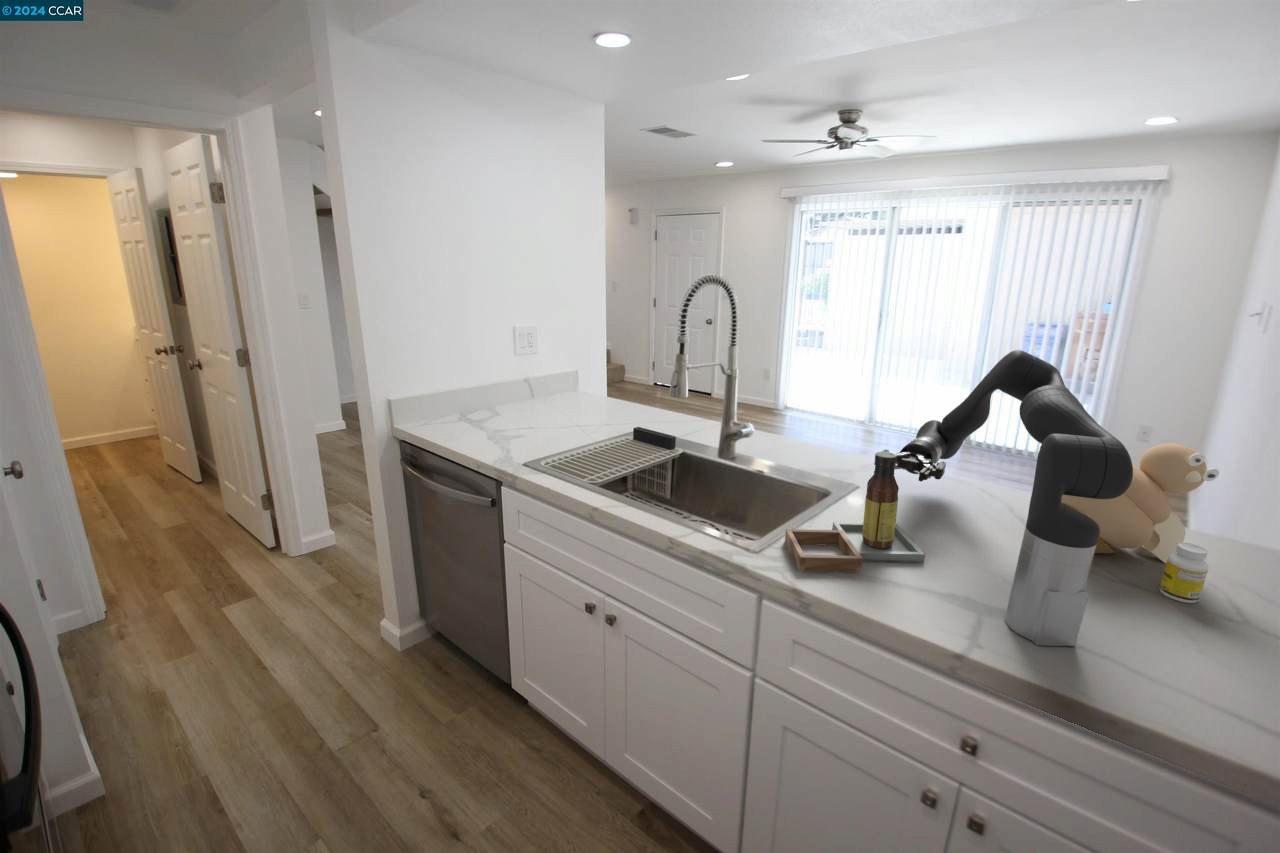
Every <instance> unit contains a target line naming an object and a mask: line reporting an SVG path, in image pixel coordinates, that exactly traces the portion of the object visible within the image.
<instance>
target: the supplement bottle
mask: <svg viewBox="0 0 1280 853" xmlns="http://www.w3.org/2000/svg"><path fill="white" fill-rule="evenodd" d="M1207 555H1208V550H1207V549H1206V548H1204V547H1203V546H1200V545H1197V544H1194V543H1190V542H1189V543H1188V542H1183V543H1178V545H1177V548H1176V553H1173V554H1171V555H1170V556H1169V557H1168V560H1167V563H1165V564H1166V565H1165V567H1164V571H1163V575H1162V578H1161V582H1160V584H1159V588H1158V589H1159V591H1160V593H1161V594H1163V595H1164V596H1165V597H1167V598H1169V599H1171V600H1174V601H1178V602H1181V603H1187V604H1191V603H1192V604H1194V603H1195V604H1196V603H1197V602H1198V601H1199V599H1200V597H1201V592H1202V590H1203V588H1204V584H1205V581H1206V578H1207V574H1208V571H1209V567H1210V566H1209V564H1208V563H1207V561H1206V559H1207Z"/></svg>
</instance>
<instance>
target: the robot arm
mask: <svg viewBox="0 0 1280 853" xmlns="http://www.w3.org/2000/svg"><path fill="white" fill-rule="evenodd" d="M996 390H999V391H1000V392H1003V393H1004V394H1006V395H1009V396H1011V397H1012V398H1015V399H1016V400H1019V401H1020V405H1019V410H1018V411H1019V416H1020V419H1021V420H1020V421H1021V422H1022V424H1023V426H1024V428H1025V429H1026V431H1027V432H1028V434H1029V436H1031V437H1032V438H1033V439H1034V440H1035V441H1037V442H1038V444H1040V447H1039V451H1038V453H1037V459H1036V466H1035V471H1034V478H1033V485H1032V492H1031V496H1030V500H1029V505H1028V506H1029V507H1028V514H1027V518H1026V519H1027V520H1026V523H1025V526H1024V527H1025V528H1024V532H1023V535H1022V536H1023V537H1022V541H1021V545H1020V550H1019V554H1018V558H1017V562H1016V567H1015V572H1014V576H1013V579H1012V580H1013V581H1012V586H1011V589H1010V593H1009V598H1008V604H1007V608H1006V613H1005V618H1004V620H1005V623H1006V624H1007V626H1008V627H1009V628H1010V629H1011V630H1013V632H1015V633H1016V634H1018V635H1020V636H1021V637H1023V638H1025V639H1027V640H1030V641H1032V642H1033V643H1034V644H1035V645H1036V646H1047V647H1048V646H1049V647H1051V646H1052V647H1076V644H1077V641H1078V637H1079V634H1080V630H1081V628H1082V627H1081V626H1082V624H1083V623H1082V622H1083V620H1084V619H1083V618H1084V615H1085V611H1086V607H1087V603H1088V600H1089V596H1090V594H1089V593H1088V592H1087V591H1086V590H1085V589H1086V585H1087V582H1088V578H1089V574H1090V570H1091V567H1092V564H1093V560H1094V556H1095V554H1096V553H1095V549H1096V545H1097V542H1098V538H1099V534H1100V527H1099V525H1098V524H1097V523H1096V522H1095V521H1094V520H1093V519H1091V518H1090V517H1088V516H1086V515H1084V514H1082V513H1080V512H1078V511H1076V510H1073V509H1071V508H1069V507H1067V506H1066V505H1064V504H1063V503H1061V499H1062V495H1070V496H1077V497H1085V498H1093V499H1112V498H1116V497H1119V496H1121V495H1122V494H1123V493H1125V492H1126V491H1127V489H1128V488H1129V487H1130V484H1131V482H1132V478H1133V465H1134V464H1133V462H1132V458H1131V456H1130V454H1129V451H1128V450H1127V448H1126V446H1125V445H1124V444H1123V443H1122V442H1121V440H1119V439H1118V438H1116V436H1114V435H1112V434H1111V433H1110V432H1108V431H1107V430H1106V429H1104V428H1103V427H1102V426H1101V425H1100V424H1099V423H1098V422H1097V421H1096V420H1095V419H1094V418H1093V417H1092V416H1091V414H1089V412H1087V410H1086V409H1085V407H1084V406H1083V405H1082V403H1081V402H1080V401H1079V398H1077V397H1076V396H1075V395H1074V394H1073V393H1072V392H1071V391H1070V390H1069V388H1068V387H1066V385H1065V383H1064V380H1063V377H1062V375H1061V373H1060V371H1059V370H1058V368H1056V367H1055V366H1054V365H1052V364H1051V363H1049V362H1047V361H1045V360H1043V359H1041V358H1039V357H1037V356H1035V355H1034V354H1031V353H1028V352H1027V351H1024V350H1021V349H1015V350H1013V351H1009V353H1007V354H1006V355H1004V356H1003V357H1002V358H1001V359H999V361H998V362H997V363H996V364H995V365H994V366H993V367H992V369H990V371H989V372H987V374H986V375H985V376H984V377H983V378H982V379H981V381H980V382H979V383H978V384H977V385H976V387H975V388H974V389H973V390H972V391H971V392H970V393H969V395H968V396H967V397H966V398H965V399H964V400H963V401H962V402H961V403H960V404H959V405H957V406H956V407H955V408H953V409H952V410H951V411H950V412H949V413H948V414H946V415H945V416H944V417H943V418H942V420H941V421H940V420H937V419H936V420H935V419H932V420H928V421H927V422H924V424H922V425H921V426H920V428H919V429H918V431H917V432H916V437H915V438H914V439H913V440H911V441H910V442H909V443H907V444H906V445H904V446H903V447H902V448H901V449H900V451H899V452H896V453H894V454H895V455H896V456H897V460H896V463H895V468H894V470H903V471H907V472H908V473H910V474H914V475H919V476H918V482H923V481H927V480H928V479H931V478H932V477H933V478H934V479H935V480H941V479H942V478H943V476H944V474H945V472H946V466H947V462H945V461H939V460H948V459H950V458H951V459H952V457H954V456H955V455H956V454H957V453H958V452H959V450H960V449H961V447H962V445H963V443H964V441H965V440H966V438H968V437H969V436H971V435H972V434H973V433H975V432H976V431H977V430H979V429H980V428H981V427H982V426H983V425H984V424H985V423H986V422H987V420H988V418H989V416H990V411H991V398H992V395H993V393H994V392H996ZM880 452H890V449H883V450H881V451H880ZM875 463H876V461H875V460H874V464H873V465H874V466H875ZM1132 464H1133V465H1132Z"/></svg>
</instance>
